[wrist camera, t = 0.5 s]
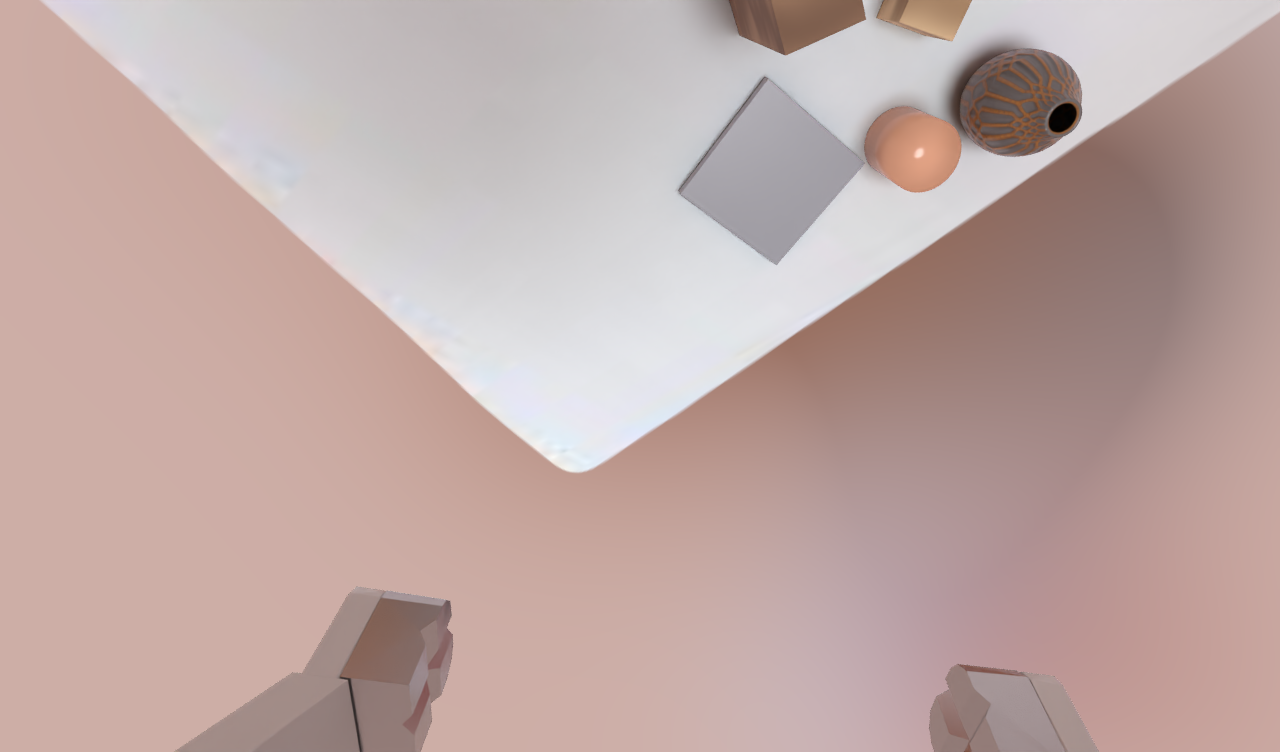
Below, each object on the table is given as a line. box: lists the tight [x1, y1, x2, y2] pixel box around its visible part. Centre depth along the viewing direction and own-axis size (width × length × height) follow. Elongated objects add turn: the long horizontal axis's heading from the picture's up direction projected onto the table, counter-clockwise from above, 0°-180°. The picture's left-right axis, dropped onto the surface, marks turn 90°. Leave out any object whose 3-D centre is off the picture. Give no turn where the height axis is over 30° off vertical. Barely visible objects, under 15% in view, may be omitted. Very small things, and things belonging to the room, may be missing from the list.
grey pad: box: [679, 77, 865, 265], centre depth 52 cm, size 10×10×1 cm
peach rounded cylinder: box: [864, 106, 961, 192], centre depth 49 cm, size 5×5×5 cm
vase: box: [960, 49, 1082, 157], centre depth 47 cm, size 7×7×9 cm
